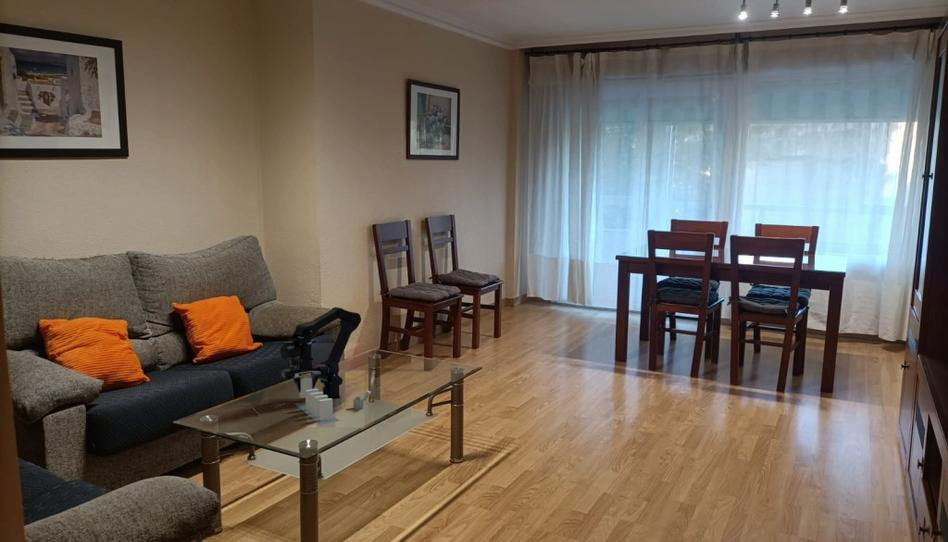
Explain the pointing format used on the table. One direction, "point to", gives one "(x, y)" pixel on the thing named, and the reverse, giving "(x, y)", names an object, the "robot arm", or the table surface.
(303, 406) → the runner
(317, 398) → the tile
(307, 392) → the tile
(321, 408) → the tile
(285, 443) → the table surface
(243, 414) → the table surface
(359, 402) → the lighter
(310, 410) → the tile
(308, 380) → the tile
